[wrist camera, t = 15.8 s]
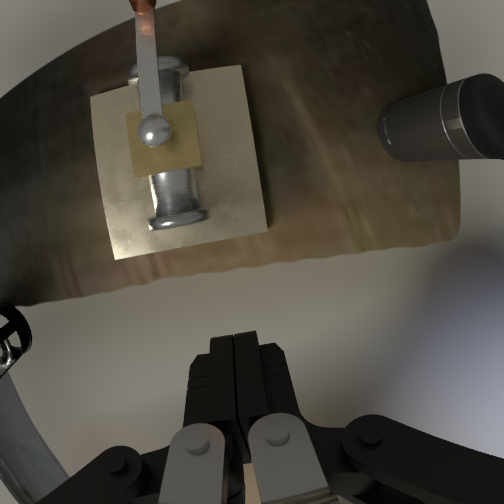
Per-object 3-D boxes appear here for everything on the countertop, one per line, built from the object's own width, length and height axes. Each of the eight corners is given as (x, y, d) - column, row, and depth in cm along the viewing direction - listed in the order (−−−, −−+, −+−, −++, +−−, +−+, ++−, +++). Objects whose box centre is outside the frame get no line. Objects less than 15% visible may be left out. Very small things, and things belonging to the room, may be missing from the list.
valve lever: (173, 144, 25) (153, 124, 16) (143, 150, 25) (110, 135, 16) (159, -3, 21) (145, -57, 12) (133, 3, 21) (111, -48, 12)
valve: (239, 68, 35) (250, 29, 24) (265, 230, 40) (286, 247, 29) (94, 99, 33) (57, 74, 22) (118, 257, 38) (86, 283, 27)
